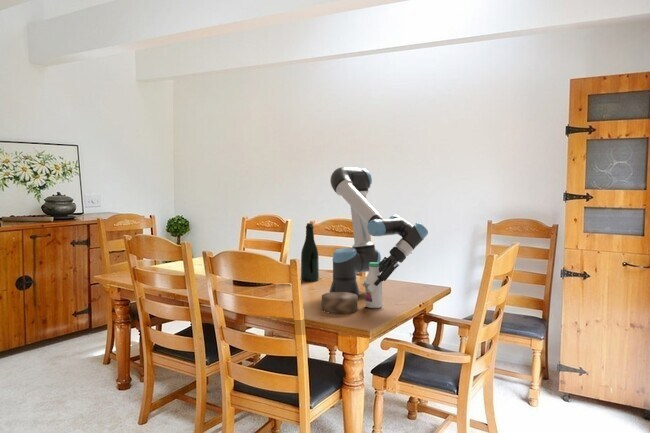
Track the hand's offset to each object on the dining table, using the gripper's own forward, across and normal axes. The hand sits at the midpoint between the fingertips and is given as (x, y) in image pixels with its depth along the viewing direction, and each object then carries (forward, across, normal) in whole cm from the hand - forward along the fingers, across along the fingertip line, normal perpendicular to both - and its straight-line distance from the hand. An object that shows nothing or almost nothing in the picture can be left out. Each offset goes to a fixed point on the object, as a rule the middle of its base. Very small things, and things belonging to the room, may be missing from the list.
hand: (366, 288), depth 224 cm
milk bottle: (+4, 0, -9) cm, 9 cm away
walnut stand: (+15, 0, +2) cm, 15 cm away
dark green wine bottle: (+16, +66, +2) cm, 68 cm away
